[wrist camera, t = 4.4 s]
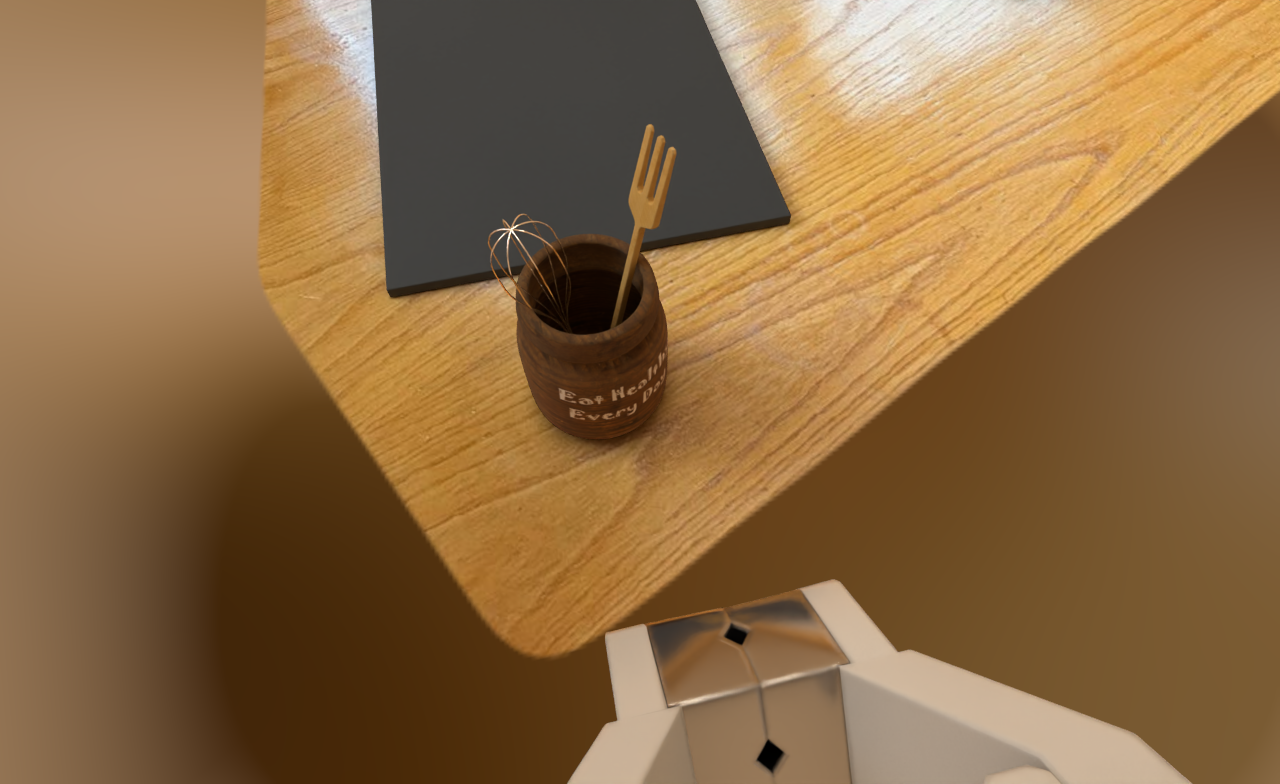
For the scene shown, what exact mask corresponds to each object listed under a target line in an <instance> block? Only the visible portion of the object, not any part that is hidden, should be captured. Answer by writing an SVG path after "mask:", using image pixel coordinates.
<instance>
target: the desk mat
mask: <svg viewBox="0 0 1280 784" xmlns="http://www.w3.org/2000/svg"><path fill="white" fill-rule="evenodd" d="M371 6H372V25H373V44H374V62H375V81H376V99H377V118H378V137H379V155H380V174H381V193H382V211H383V230H384V249H385V267H386V286H387V291H388V293H389V295H390V297H395V296H400V295H405V294H411V293H416V292H422V291H427V290H432V289H438V288H443V287H448V286H454V285H459V284H465V283H470V282H475V281H481V280H486V279H492V278H497V277H496V276H495V274H494V272H493V270H492V268H491V264H490V257H491V252H492V251H491V249H490V247H489V244H488V238H489V235H490V234H491V233H492V232H493V231H495V230H498V229H506V227H505V225H504V223H503V221H502V219H504V220H505V221H506V222H507V223H508V225H509V226H510V227H511V226H512V224H513V222H514V220H515V218H516V217H517V216H518V215H520V214H527V215H528V216H529V217H530V218H531V219H532V220H533V221H539V222H543V223H545V224H547V225H548V226H550V227H551V228H552V230H553V231H554V233H555V234H556V236H557V238H558V240H559V239H562V238H565V237H568V236H573V235H579V234H600V235H606V236H611V237H614V238H617V239H620V240H622V241H624V242H626V243H628V244H630V243H631V239H632V235H633V230H634V226H635V220H634V217H633V214H632V211H631V209H630V206H629V195H630V191H631V187H632V183H633V179H634V175H635V171H636V166H637V162H638V158H639V154H640V150H641V146H642V142H643V138H644V134H645V130H646V126H647V125H649V124H652V125H653V127H654V135H653V140H652V145H651V150H650V155H649V160H648V164H647V169H646V174H645V179H644V184H643V186H645V182H646V178H647V174H648V171H649V167H650V163H651V159H652V155H653V152H654V148H655V144H656V140H657V137H658V136H661V135H662V136H663V137H664V138H665V146H664V150H663V155H662V159H661V164H660V168H659V173H658V177H657V182H656V186H655V191H654V195H653V197H654V198H655V194H656V191H657V187H658V184H659V180H660V177H661V173H662V170H663V166H664V162H665V159H666V155H667V152H668V149H669V148H670V147H674V148H675V149H676V158H675V162H674V166H673V170H672V174H671V179H670V183H669V187H668V191H667V195H666V199H665V204H664V208H663V212H662V216H661V220H660V224H659V226H658V227H657V228H654V229H647V228H645V232H644V236H643V240H642V244H641V248H640V251H642V250H648V249H653V248H658V247H664V246H669V245H675V244H680V243H685V242H691V241H696V240H702V239H707V238H712V237H718V236H723V235H728V234H734V233H739V232H745V231H750V230H755V229H761V228H766V227H772V226H777V225H782V224H788V223H789V222H790V218H791V214H790V212H789V210H788V207H787V205H786V203H785V201H784V198H783V196H782V194H781V192H780V189H779V187H778V185H777V183H776V180H775V178H774V176H773V174H772V171H771V169H770V167H769V165H768V162H767V160H766V158H765V156H764V153H763V151H762V149H761V147H760V144H759V142H758V140H757V138H756V135H755V133H754V131H753V129H752V126H751V124H750V122H749V120H748V117H747V115H746V113H745V111H744V108H743V106H742V104H741V102H740V99H739V97H738V95H737V93H736V90H735V88H734V86H733V84H732V81H731V79H730V77H729V75H728V72H727V70H726V68H725V66H724V63H723V61H722V59H721V57H720V54H719V52H718V50H717V48H716V45H715V43H714V41H713V39H712V36H711V34H710V32H709V30H708V27H707V25H706V23H705V21H704V18H703V16H702V14H701V12H700V9H699V7H698V5H697V3H696V0H371ZM528 221H531V220H530V219H529V218H528V217H527V216H525V215H521V216H519V217H518V218H517V220H516V221H515V223H514V225H513V227H515V226H517V225H519V224H521V223H524V222H528ZM505 224H506V223H505ZM534 224H535V225H536V227H537V229H538V231H539V233H540V234H541V236H542V238H543V239H544V240H545V241H546V242H548V243H549V244H550V243H552V242H554V241H556V240H557V239H556V237H555V235H554V234H553V232H552V231H551V229H550V228H549V227H547V226H546V225H544V224H541V223H536V222H534ZM506 226H507V225H506ZM507 228H508V229H510V228H509V227H508V226H507ZM514 229H518V230H523V231H527V232H530V233H532V234H535V235H537V236H539V237H540V235H539V233H538V232H537V230H536V228H535V226H534V225H533V223H526V224H523V225H520V226H518V227H516V228H514ZM513 231H514V230H513ZM506 232H507V230H501V231H497V232H495V233H493V234H492V235H491V237H490V240H489V242H490V246H491V248H492V249H493V247H494V245H495V243H496V242H497V241H498V239H499V238H500V237H501V236H502V235H503V234H504V233H506ZM514 233H515V234H516V236H517V237H518V239H519V240H520V241H521V243H522V244H523V246H524V247H525V249H526V250H527V252H528V254H529V255H530V257H532V256H533V255H534V254H535V253H537V252H538V251H539V250H540V249H542V248H543V247H545V246H544V243H543V241H542V240H541V239H539V238H537V237H535V236H533V235H531V234H528V233H525V232H521V231H514ZM511 235H512V237H513V238H514V240H515V242H516V244H517V245H518V247H519V249H520V251H521V252H522V254H523V256H524V257H525V259H526V261H527V262H528V261H529V259H530V258H529V256H528V255H527V253H526V252H525V250H524V249H523V247H522V246H521V244H520V243H519V241H518V240H517V238H516V237H515V235H514V234H513V233H512V231H511ZM508 237H509V232H508V233H507V234H506V235H504V236H503V237H502V238H501V239H500V240H499V242H498V243H497V245H496V246H495V248H494V251H493V252H494V254H495V255H496V257H497V259H498V260H499V262H500V264H501V265H502V267H503V268H504V269H505V271H506V272H507V273H508V274H509V275H510V272H509V268H508V262H507V242H508ZM540 238H541V237H540ZM545 245H548V244H547V243H545ZM520 251H519V250H518V248H517V246H516V245H515V243H514V241H513V239H512V238H511V236H510V239H509V247H508V257H509V265H510V270H511V274H512V275H513V274H518V273H521V271H522V269H523V268H524V266H525V265H526V261H525V260H524V258H523V257H522V255H521V253H520ZM492 266H493V269H494V271H495V273H496V274H497V276H498V277H502V276H508V275H507V274H506V273H505V272H504V270H503V269H502V268H501V266H500V265H499V263H498V261H497V260H496V258H495V256H494V255H493V254H492Z"/></svg>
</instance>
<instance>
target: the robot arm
mask: <svg viewBox="0 0 1280 784" xmlns="http://www.w3.org/2000/svg"><path fill="white" fill-rule="evenodd" d="M605 642H606V648H607V655H608V661H609V668H610V674H611V680H612V687H613V694H614V701H615V707H616V714H617V720H618V721H615V722H611V723H607V724H605V726H604V727H603V729H602V730H601V732H600V733H599V735H598V736H597V738H596V740H595V741H594V743H593V744H592V746H591V747H590V749H589V750H588V752H587V753H586V755H585V756H584V758H583V760H582V761H581V763H580V764H579V766H578V767H577V769H576V771H575V772H574V773H573V775H572V777H571V778H570V780H569V781H568V783H567V784H1192V783H1190V781H1188V780H1187V779H1186V778H1185V777H1184V776H1183V775H1182V774H1180V773H1179V772H1178V771H1177V770H1176V769H1175V768H1174V767H1172V766H1171V765H1170V764H1169V763H1168V762H1167V761H1166V760H1165V759H1163V758H1162V757H1161V756H1160V755H1159V754H1158V753H1157V752H1155V751H1154V750H1153V749H1152V748H1151V747H1150V746H1149V745H1147V744H1146V743H1145V742H1144V741H1143V740H1142V739H1141V738H1139V737H1138V736H1137V735H1136V734H1135V733H1132V732H1130V731H1127V730H1124V729H1122V728H1119V727H1116V726H1114V725H1111V724H1108V723H1106V722H1103V721H1100V720H1097V719H1095V718H1092V717H1090V716H1087V715H1084V714H1082V713H1079V712H1076V711H1073V710H1071V709H1068V708H1065V707H1063V706H1060V705H1057V704H1055V703H1052V702H1049V701H1047V700H1044V699H1041V698H1039V697H1036V696H1033V695H1030V694H1028V693H1025V692H1022V691H1020V690H1017V689H1015V688H1012V687H1009V686H1006V685H1004V684H1001V683H999V682H996V681H993V680H990V679H988V678H985V677H982V676H980V675H977V674H974V673H972V672H969V671H966V670H964V669H961V668H958V667H956V666H953V665H950V664H948V663H945V662H942V661H939V660H937V659H934V658H932V657H929V656H926V655H924V654H921V653H918V652H916V651H913V650H906V651H902V652H898V651H897V650H896V649H895V648H894V647H893V645H892V644H891V643H890V641H889V640H888V639H887V638H886V637H885V635H884V634H883V633H882V632H881V631H880V629H879V628H878V627H877V626H876V624H875V623H874V622H873V621H872V620H871V618H870V617H869V616H868V615H867V614H866V612H865V611H864V610H863V609H862V608H861V606H860V605H859V604H858V603H857V602H856V600H855V599H854V598H853V597H852V595H851V594H850V593H849V592H848V591H847V589H846V588H845V587H844V586H843V585H842V583H841V582H840V581H837V580H834V579H832V580H829V581H825V582H821V583H818V584H814V585H810V586H807V587H803V588H799V589H797V590H794V591H790V592H786V593H782V594H778V595H774V596H770V597H766V598H763V599H759V600H755V601H751V602H747V603H743V604H739V605H735V606H731V607H727V608H718V609H713V610H708V611H704V612H699V613H694V614H689V615H684V616H680V617H675V618H670V619H665V620H661V621H656V622H651V623H647V624H646V626H645V625H644V624H641V625H636V626H632V627H628V628H625V629H620V630H616V631H612V632H607V633H606V637H605Z"/></svg>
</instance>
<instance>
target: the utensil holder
mask: <svg viewBox="0 0 1280 784" xmlns="http://www.w3.org/2000/svg"><path fill="white" fill-rule="evenodd" d="M653 135H654V127H653V125H652V124H649V125H647V126H646V130H645V134H644V138H643V142H642V146H641V150H640V154H639V158H638V162H637V166H636V171H635V175H634V179H633V183H632V187H631V191H630V195H629V206H630V209H631V211H632V214H633V217H634V220H635V226H634V230H633V235H632V239H631V243H630V244H628V243H626V242H624V241H622V240H620V239H617V238H614V237H611V236H606V235H600V234H579V235H573V236H568V237H565V238H562V239H559V240H558V238H557V236H556V234H555V233H554V231H553V230H552V228H551V227H550V226H548V225H547V224H545V223H543V222H539V221H533V220H532V219H531V218H530V217H529V216H528V215H527V214H520V215H518V216H517V217H516V218H515V220H514V222H513V224H512V226H511V227H510V226H509V225H508V223H507V222H506V221H505V220H504V219H502V221H503V223H504V225H505V227H506V229H498V230H495V231H493V232H492V233H491V234H490V235H489V238H488V244H489V247H490V249H491V251H492V252H491V257H490V264H491V268H492V270H493V272H494V274H495V276H496V277H497V279H498V281H499V282H500V284H501V286H502V287H503V288H504V286H503V285H502V283H501V281H500V280H499V278H498V276H497V274H496V273H495V271H494V269H493V266H492V254H493V255H494V256H495V258H496V260H497V261H498V263H499V265H500V266H501V268H502V269H503V270H504V272H505V273H506V274H507V275H508V276H509V274H508V273H507V272H506V271H505V269H504V268H503V267H502V265H501V264H500V262H499V260H498V259H497V257H496V255H495V254H494V252H493V251H494V248H495V246H496V245H497V243H498V242H499V240H500V239H501V238H502V237H503V236H504V235H506V234H507V233H508V232H509V237H508V242H507V262H508V268H509V272H510V275H511V277H510V276H509V278H510V279H511V280H512V281H513V282H514V284H515V286H516V299H515V298H514V297H512V296H511V295H510V294H509V293H508V291H507V290H506V289H505V288H504V290H505V291H506V292H507V294H508V295H509V296H510V297H512V298H513V299H514V300H516V312H517V317H518V321H517V343H518V349H519V353H520V357H521V361H522V364H523V368H524V371H525V374H526V377H527V380H528V383H529V386H530V389H531V392H532V395H533V397H534V399H535V401H536V404H537V405H538V407H539V409H540V410H541V412H542V413H543V414H544V416H545V417H546V418H547V419H548V420H549V421H550V422H551V423H552V424H553V425H555V426H556V427H557V428H559V429H561V430H562V431H564V432H566V433H568V434H571V435H573V436H576V437H580V438H585V439H608V438H614V437H617V436H621V435H623V434H626V433H628V432H630V431H632V430H634V429H635V428H637V427H638V426H640V425H641V424H642V423H644V422H645V421H646V420H647V419H648V418H649V417H650V416H651V415H652V413H653V412H654V411H655V409H656V408H657V406H658V404H659V402H660V400H661V398H662V395H663V392H664V388H665V383H666V375H667V348H668V336H667V323H666V317H665V313H664V310H663V307H662V304H661V302H660V300H659V291H658V286H657V282H656V279H655V276H654V273H653V270H652V268H651V266H650V264H649V263H648V261H647V260H646V258H645V257H644V256H643V255H642V254H641V253H640V248H641V244H642V240H643V236H644V232H645V228H647V229H654V228H657V227H658V226H659V224H660V220H661V216H662V212H663V208H664V204H665V199H666V195H667V191H668V187H669V183H670V179H671V174H672V170H673V166H674V162H675V158H676V149H675V148H674V147H670V148H669V149H668V152H667V155H666V159H665V162H664V166H663V170H662V173H661V177H660V180H659V184H658V187H657V191H656V194H655V198H654V197H653V195H654V191H655V186H656V182H657V177H658V173H659V168H660V164H661V159H662V155H663V150H664V146H665V138H664V137H663V136H662V135H661V136H658V137H657V140H656V144H655V148H654V152H653V155H652V159H651V163H650V167H649V171H648V174H647V178H646V182H645V186H643V184H644V179H645V174H646V169H647V164H648V160H649V155H650V150H651V145H652V140H653ZM521 215H525V216H527V217H528V218H529V219H530V220H531V221H528V222H524V223H521V224H519V225H517V226H515V227H513V225H514V223H515V221H516V220H517V218H518V217H519V216H521ZM534 222H536V223H541V224H544V225H546V226H547V227H549V228H550V229H551V231H552V232H553V234H554V235H555V237H556V239H557V240H556V241H554V242H552V243H550V244H549V243H548V242H546V241H545V240H544V239H543V238H542V236H541V234H540V233H539V231H538V229H537V227H536V225H535V224H534ZM505 223H506V224H505ZM526 223H533V225H534V226H535V228H536V230H537V232H538V233H539V235H540V237H541V238H540V237H539V236H537V235H535V234H532V233H530V232H527V231H523V230H518V229H514V228H516V227H518V226H520V225H523V224H526ZM506 225H507V226H508V227H509V228H510V229H508V228H507V226H506ZM501 230H507V232H506V233H504V234H503V235H502V236H501V237H500V238H499V239H498V241H497V242H496V243H495V245H494V247H493V249H492V248H491V246H490V242H489V240H490V237H491V235H492V234H493V233H495V232H497V231H501ZM513 230H514V231H521V232H525V233H528V234H531V235H533V236H535V237H537V238H539V239H541V240H542V241H543V243H544V246H545V247H543V248H542V249H540V250H539V251H538V252H537V253H535V254H534V255H533V256H532V257H530V255H529V254H528V252H527V250H526V249H525V247H524V246H523V244H522V243H521V241H520V240H519V239H518V237H517V236H516V234H515V233H514V231H513ZM511 231H512V233H513V234H514V235H515V237H516V238H517V240H518V241H519V243H520V244H521V246H522V247H523V249H524V250H525V252H526V253H527V255H528V256H529V258H530V259H529V261H528V262H527V261H526V259H525V257H524V256H523V254H522V252H521V251H520V249H519V247H518V245H517V244H516V242H515V240H514V238H513V237H512V235H511ZM510 236H511V238H512V239H513V241H514V243H515V245H516V246H517V248H518V250H519V251H520V253H521V255H522V257H523V258H524V260H525V261H526V265H525V266H524V268H523V269H522V271H521V273H520V276H519V279H518V282H517V283H516V282H515V281H514V279H513V277H512V274H511V270H510V265H509V257H508V247H509V239H510ZM545 243H547V244H548V245H545ZM516 284H517V285H516Z"/></svg>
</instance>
